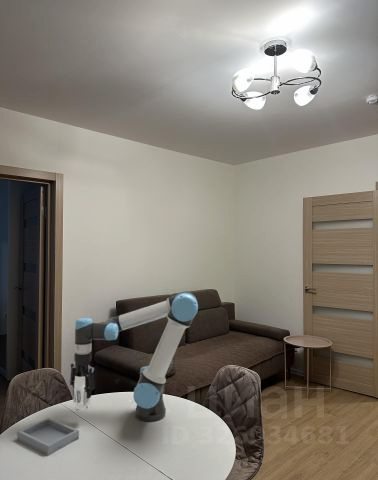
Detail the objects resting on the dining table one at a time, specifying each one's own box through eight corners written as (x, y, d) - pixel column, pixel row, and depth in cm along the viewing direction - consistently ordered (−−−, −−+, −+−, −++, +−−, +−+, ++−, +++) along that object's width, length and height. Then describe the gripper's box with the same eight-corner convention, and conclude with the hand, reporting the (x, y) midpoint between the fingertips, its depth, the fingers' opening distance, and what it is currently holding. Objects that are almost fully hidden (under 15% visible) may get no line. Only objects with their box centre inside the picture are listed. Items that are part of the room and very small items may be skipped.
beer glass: (84, 411, 154) (85, 377, 155) (70, 410, 156) (71, 376, 157) (92, 405, 161) (92, 372, 162) (78, 403, 163) (79, 371, 163)
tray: (78, 438, 146) (78, 430, 146) (47, 455, 133) (48, 446, 134) (48, 425, 157) (48, 417, 157) (17, 440, 144) (17, 431, 144)
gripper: (62, 351, 162) (61, 401, 161) (91, 357, 152) (90, 411, 150) (75, 347, 168) (73, 395, 167) (104, 353, 158) (102, 405, 157)
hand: (81, 403), depth 159 cm, fingers closed on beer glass, 6 cm apart
